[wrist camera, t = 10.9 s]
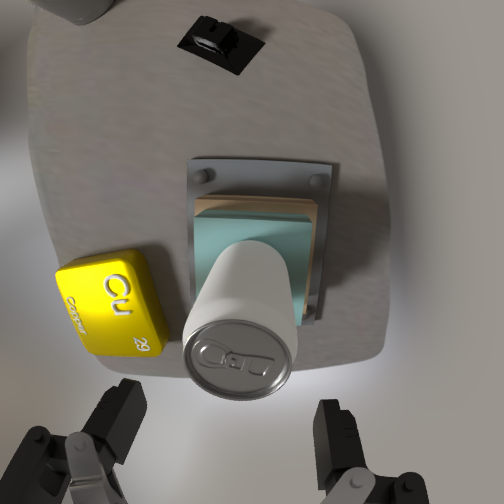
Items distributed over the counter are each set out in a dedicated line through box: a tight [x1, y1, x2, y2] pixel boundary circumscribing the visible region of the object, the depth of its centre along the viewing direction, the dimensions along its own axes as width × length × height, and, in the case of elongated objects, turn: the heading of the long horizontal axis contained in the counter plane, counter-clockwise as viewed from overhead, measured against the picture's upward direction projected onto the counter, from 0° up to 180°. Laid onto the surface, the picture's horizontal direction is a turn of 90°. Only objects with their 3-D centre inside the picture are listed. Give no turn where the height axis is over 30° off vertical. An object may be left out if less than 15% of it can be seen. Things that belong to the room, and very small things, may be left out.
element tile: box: [55, 249, 170, 357], centre depth 36 cm, size 15×15×5 cm
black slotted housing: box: [177, 16, 265, 75], centre depth 24 cm, size 12×7×5 cm, turn 56°
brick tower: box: [187, 159, 332, 326], centre depth 29 cm, size 20×16×9 cm
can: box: [182, 240, 298, 401], centre depth 19 cm, size 6×6×12 cm
